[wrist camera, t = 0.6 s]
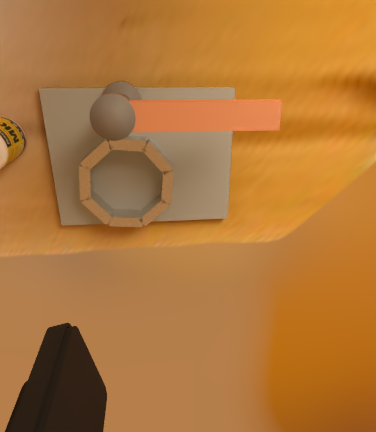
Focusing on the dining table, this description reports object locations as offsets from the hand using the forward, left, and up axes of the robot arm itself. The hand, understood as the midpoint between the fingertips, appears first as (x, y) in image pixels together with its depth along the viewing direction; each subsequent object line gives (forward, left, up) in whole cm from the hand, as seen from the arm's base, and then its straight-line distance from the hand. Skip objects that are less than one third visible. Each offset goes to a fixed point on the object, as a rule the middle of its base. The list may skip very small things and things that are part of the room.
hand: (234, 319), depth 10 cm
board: (+1, -5, -33) cm, 33 cm away
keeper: (-2, +3, -22) cm, 23 cm away
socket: (+1, -8, -32) cm, 32 cm away
